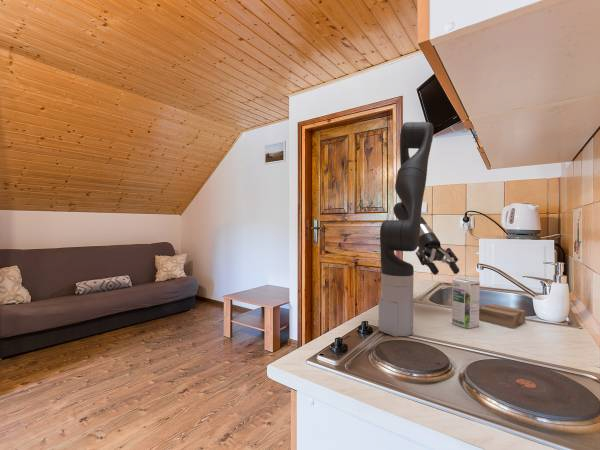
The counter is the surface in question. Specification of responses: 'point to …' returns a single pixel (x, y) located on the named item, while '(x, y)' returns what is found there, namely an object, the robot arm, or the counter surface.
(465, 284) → the syrup box
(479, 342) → the counter surface
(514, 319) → the walnut base
